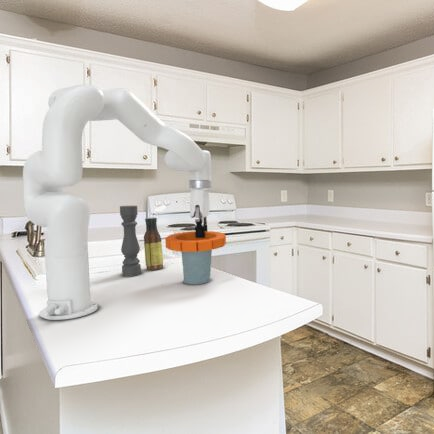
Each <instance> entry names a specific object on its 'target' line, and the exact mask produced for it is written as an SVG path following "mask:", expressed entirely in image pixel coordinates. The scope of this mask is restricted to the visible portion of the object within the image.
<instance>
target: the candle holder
mask: <svg viewBox="0 0 434 434" xmlns="http://www.w3.org/2000/svg"><path fill="white" fill-rule="evenodd" d="M119 215H120V218H121V219H122V222H121V224H120V225H121V226H122V227H123V238H122V243H121V247H120V251H121V254H122V255H123V257H124V259H123V260H122V265H121V275H122V277H126V278H127V277H128V278H129V277H137V276H140V275H142V265H141V263H140V259H139V258H138V255H139V252H140V250H141V247H140V244H139V241H138V236H137V231H136V229H137V228H136V226H137V225H138V222H137V221H136V220H137V217H138V215H139V214H138V205H120V206H119Z"/></svg>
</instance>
